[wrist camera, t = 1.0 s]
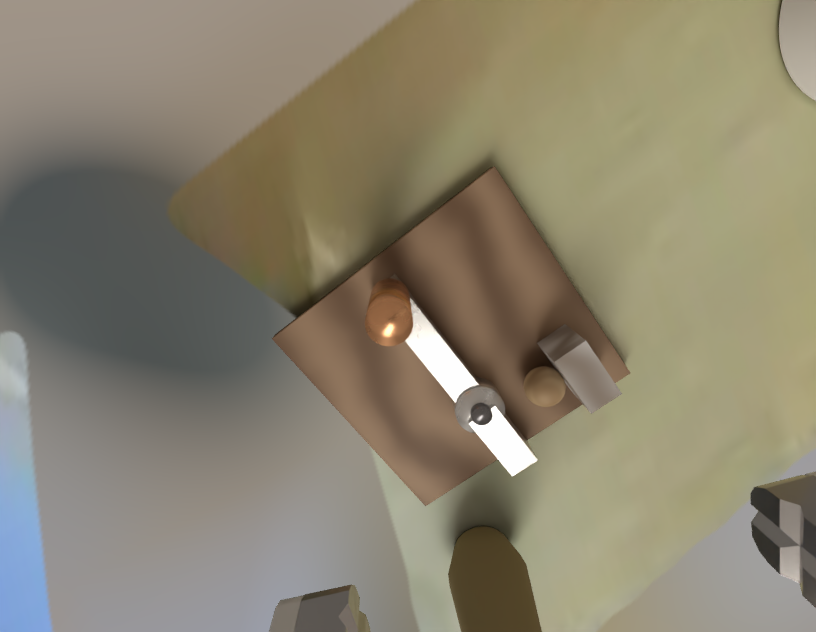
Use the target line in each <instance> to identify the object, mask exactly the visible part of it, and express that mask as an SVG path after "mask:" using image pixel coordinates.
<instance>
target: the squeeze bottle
mask: <svg viewBox="0 0 816 632" xmlns="http://www.w3.org/2000/svg"><path fill="white" fill-rule="evenodd" d="M448 575H449V584H450V589H451V593H452V597H453V601H454V605H455V609H456V613H457V617H458V620H459V624H460V628H461V632H542V631H541V627H540V622H539V618H538V614H537V609H536V605H535V601H534V596H533V592H532V588H531V583H530V579H529V575H528V570H527V566H526V564H525V562H524V560H523V559H522V557H521V555H520V554H519V553H518V551H517V550H516V549H515V548H514V547H513V545H512V544H511V543H510V542H509V541H508V539H507V538H506V537H505V536H504V535H503V533H501V532H500V531H498V530H496V529H495V528H491V527H486V526H482V527H474V528H472V529H470V530H468V531H465V532H464V533H463V534H462V535H461V536H460V537H459V538H458V539H457V542H456V544H455V547H454V551H453V556H452V560H451V565H450V569H449V573H448Z"/></svg>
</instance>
